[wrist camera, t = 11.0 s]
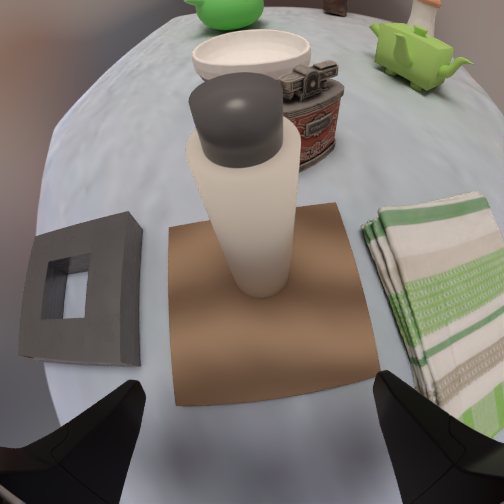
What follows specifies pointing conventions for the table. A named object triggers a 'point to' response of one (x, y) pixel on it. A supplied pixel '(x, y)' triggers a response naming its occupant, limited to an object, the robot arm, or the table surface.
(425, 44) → the kettle
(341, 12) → the candle
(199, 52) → the bowl
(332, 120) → the lighter
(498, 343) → the dish towel
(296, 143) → the white bottle
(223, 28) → the toy bird
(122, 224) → the housing
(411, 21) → the pepper shaker
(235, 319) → the board
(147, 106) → the table surface
